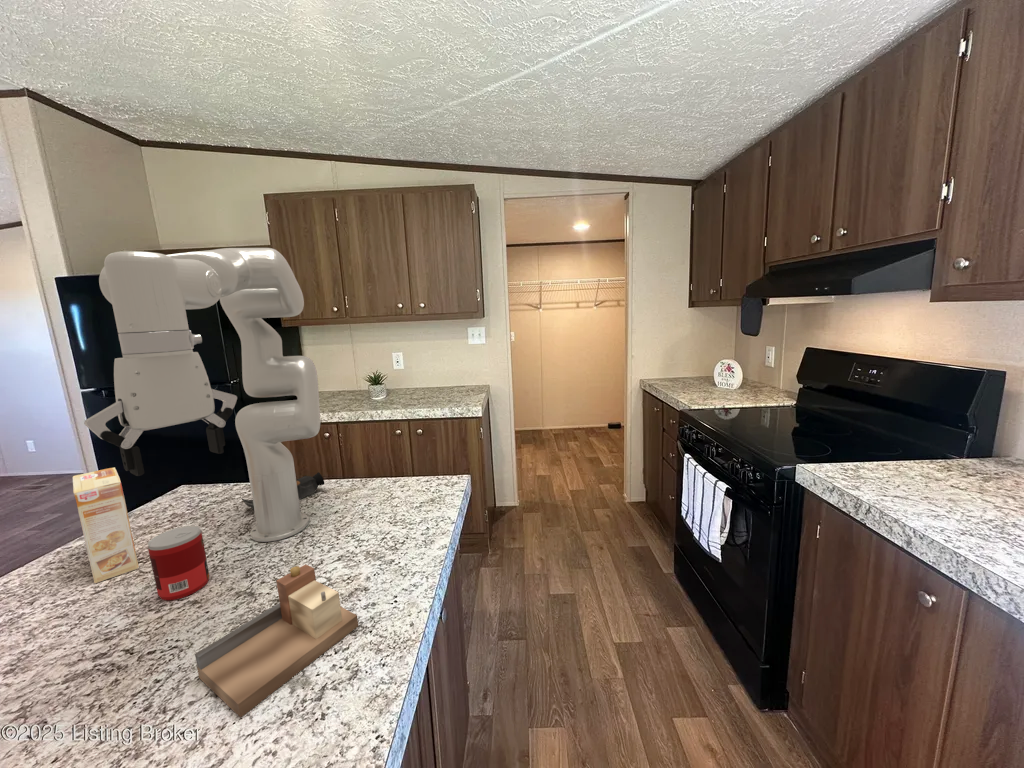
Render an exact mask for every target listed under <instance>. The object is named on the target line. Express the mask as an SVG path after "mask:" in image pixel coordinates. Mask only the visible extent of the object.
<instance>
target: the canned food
mask: <svg viewBox="0 0 1024 768" xmlns="http://www.w3.org/2000/svg"><path fill="white" fill-rule="evenodd" d="M202 533H203V532H202V530H201V527H200V526H198V525H185V526H180V527H175V528H172V529H170V530H166V531H164V532H161V533H160V534H158V535H156V536H155V537H153V538H151V539H150V540H149V541H148V543H147V550H148V555H149V556H148V557H149V560H150V565H151V569H152V574H153V579H154V582H155V588H156V591H157V595H158V597H159V598H160V599H161V600H163V601H174V600H175V601H176V600H179V599H183V598H185V597H188V596H190V595H193V594H195V593H197V592H198V591H200V590H201V589H202V588H204V587H205V586H206V585H207V584H208V582H209V579H210V572H209V571H210V570H209V565H208V559H207V556H206V550H205V543H204V538H203V534H202Z"/></svg>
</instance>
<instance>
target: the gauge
mask: <svg viewBox="0 0 1024 768" xmlns="http://www.w3.org/2000/svg"><path fill="white" fill-rule="evenodd" d="M275 583H276V589H277V593H278V601H279V602H278V603H280V608H281V614H282V620H284V621H285V622H287V623H289V624H290V625H292V624H293V625H295V626H296V627H298V628H300V629H301V630H303V631H304V632H306V633H307V634H309V635H311V636H312V637H314V638H315V639H317V638H319V637H320V636H322V635H323V634H324V633H326V632H327V631H328V630H330V629H331V628H332V627H334V626H335V625H337V624H338V623H339V622H341V621H342V614H341V607H342V605H341V599H340V592H339V591H337V590H335V589H333V588H331V587H329V586H327V585H326V584H323V583H321V582H319V581H317V579H316V570H315V568H314V567H313V566H311V565H308V564H306V563H305V564H303V565H301V566H298V565H296V566H293V567H291V568H290V569H289V573H287V574H285V575H284V576H282V577H280V578H279V579H277V580H276V582H275Z"/></svg>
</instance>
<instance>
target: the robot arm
mask: <svg viewBox="0 0 1024 768" xmlns="http://www.w3.org/2000/svg"><path fill="white" fill-rule="evenodd" d="M103 265H104V266H103V267H102V268H101V271H100V274H99V277H98V283H99V289H100V291H101V293H102V296H104V298H105V299H106V301H108V302H109V303H110V304H111V305H112V309H113V315H114V320H115V324H116V329H117V335H118V341H119V344H120V350H121V355H122V357H117V358H115V357H114V362H113V382H114V383H113V384H114V385H113V386H114V395H115V402H114V403H112V404H110V405H109V406H107V407H106V408H103V409H102V410H101V411H99V412H96V413H95V414H94V415H91V416H90V417H88V418H86V420H84V421H83V422H84V426H86V427H87V428H88V429H89V430H90V431H91V432H92V433H94V434H95V435H96V436H97V437H98V438H99V439H100V440H103V441H106V442H108V443H110V444H112V445H114V446H117V447H119V452H120V456H121V460H122V461H121V462H122V465H123V469H124V470H125V471H126V472H129V473H130V474H132V475H134V476H136V477H140V476H143V475H144V474H145V469H144V464H143V459H142V454H141V453H142V452H141V449H140V447H139V446H136V442H137V440H138V439H139V437H140V436H141V435H142V434H143V432H144V431H150V430H151V431H152V430H155V429H156V430H157V429H161V428H166V427H171V426H175V425H181V424H186V423H190V422H197V421H199V420H202V421H203V422H205V423H207V424H208V426H206V428H205V433H206V437H207V442H208V443H207V444H208V449H209V452H211V453H215V454H218V455H220V454H224V452H225V450H224V447H225V446H226V441H225V440H226V439H225V433H224V427H225V426H226V422H227V421H228V419H229V418H230V417H231V416H232V415H233V414H234V408H235V406H236V404H237V400H238V396H237V395H235V394H232V393H228V392H226V391H225V392H224V391H221V390H217V389H213V388H212V387H211V382H210V380H209V376H208V374H207V370H206V368H205V365H204V363H203V361H202V357H201V356H200V354H199V352H198V351H194V350H193V349H194V348H195V347H194V346H195V345H197V344H202V343H203V337H202V336H201V335H202V334H195V333H192V330H190V328H189V324H188V323H189V322H188V317H187V311H186V310H201V309H207V308H210V307H211V306H214V305H215V304H216V303H218V301H219V303H220V305H221V307H222V310H223V311H224V313H225V315H226V316H227V317H228V319H229V321H230V323H231V324H232V326H233V327H234V329H235V331H236V333H237V334H238V337H239V339H240V345H241V372H242V374H241V376H242V385H243V389H244V391H245V393H246V395H248V396H249V397H252V398H277V397H285V396H287V397H289V396H296V398H297V399H293V400H291V399H290V400H279V401H278V400H277V401H266V402H259V403H258V402H257V403H253V404H249V405H246V406H244V407H242V408H241V409H240V410H239V411H238V412H237V413H236V416H235V419H234V421H235V423H234V424H235V425H234V426H235V430H236V432H237V435H238V438H239V440H240V443H241V445H242V448H243V453H244V457H245V460H246V466H247V471H248V478H249V486H250V491H251V496H252V497H251V498H252V500H253V504H254V509H253V510H254V514H253V515H254V516H255V523H256V524H255V525H254V526H253V527H252V528H251V529H250V532H249V534H250V539H252V540H253V541H254V542H259V543H267V542H268V543H270V542H275V541H281V540H285V539H286V538H290V537H292V536H294V535H296V534H298V533H300V532H302V531H304V529H306V528H307V527H308V525H309V523H310V520H309V515H307V514H306V513H303V512H301V510H302V509H301V503H300V499H299V496H298V489H297V482H296V480H297V477H296V476H297V475H296V470H295V462H294V457H293V454H292V453H291V451H290V450H289V449H288V448H287V447H286V446H285V445H284V444H283V442H287V441H288V442H289V441H298V440H304V439H310V438H314V437H316V436H317V435H318V433H320V428H321V409H320V406H321V405H320V393H319V391H320V389H319V380H318V379H319V378H318V377H319V376H318V372H317V368H316V365H315V362H313V361H314V360H312V359H311V358H310V357H308V356H305V355H287V356H284V355H283V353H284V352H283V340H282V337H281V335H280V334H279V332H277V331H276V329H274V328H273V327H272V326H271V325H270V324H269V323H267V322H266V321H265V320H264V319H267V318H268V319H270V318H291V317H297V316H298V315H301V313H302V312H303V310H304V308H305V307H304V306H305V302H304V301H305V299H304V294H303V292H302V289H301V285H299V282H298V280H297V278H296V277H295V276H296V275H295V274H294V271H293V270H292V268H291V266H290V264H289V263H288V261H287V259H286V258H285V257H284V256H283V254H282V253H280V251H278V250H277V249H275V248H271V247H224V248H223V247H222V248H216V249H210V250H209V249H208V250H207V249H206V250H199V251H188V252H187V251H186V252H179V253H172V254H164V253H160V252H154V251H142V250H141V251H140V250H137V251H136V250H135V251H134V250H131V251H130V250H126V251H124V250H121V251H115V252H111V253H109V254H107V255H106V257H105V258H104V263H103ZM215 399H217V400H219V401H222V406H221V408H220V409H218V412H216V413H215V409H216V408H215V407H216V406H215ZM115 417H118V421H119V423H120V425H121V426H122V427H124V428H123V429H122V430H121V432H120V433H119V434H118V433H115V432H113V431H111V430H110V428H108V427H107V425H106V423H108V422H109V421H111V420H112V419H114V418H115Z"/></svg>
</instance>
